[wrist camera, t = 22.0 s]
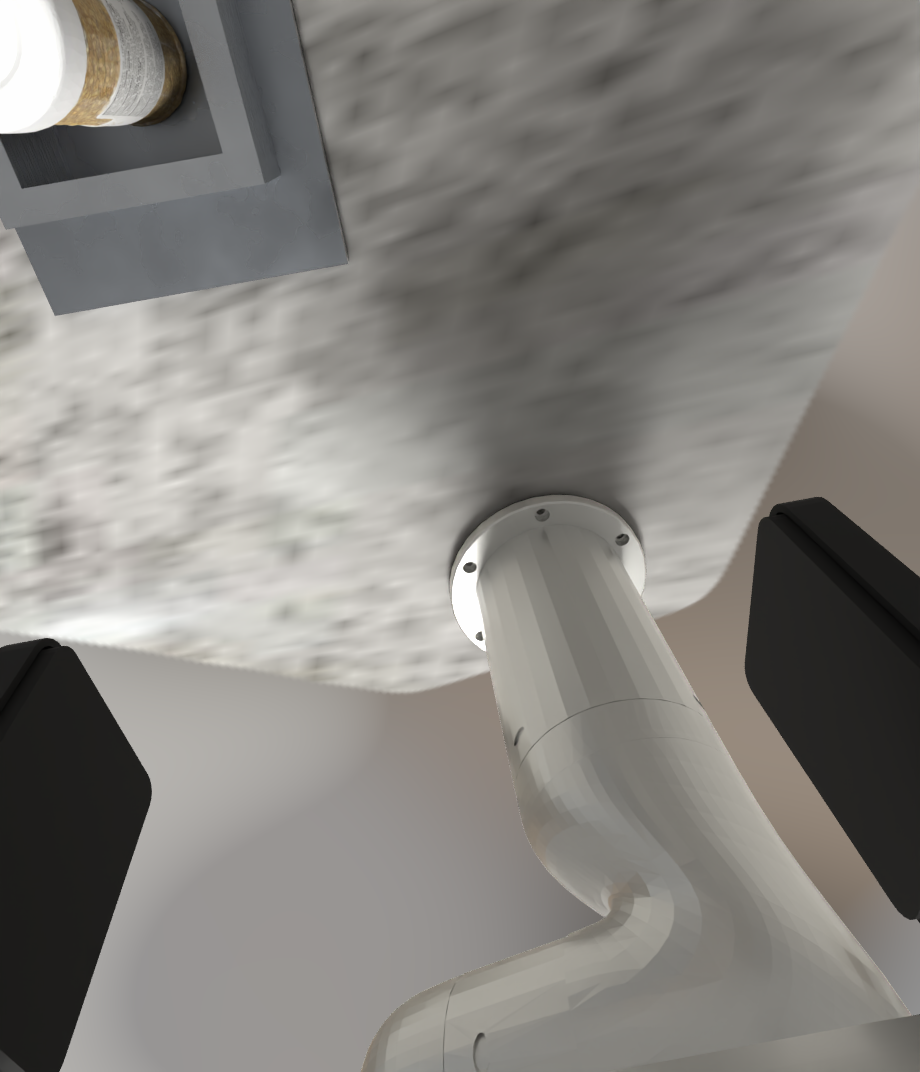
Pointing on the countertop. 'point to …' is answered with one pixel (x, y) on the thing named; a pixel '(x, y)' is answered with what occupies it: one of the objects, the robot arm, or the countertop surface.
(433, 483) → the countertop surface
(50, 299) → the dock
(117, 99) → the sprinkles bottle
